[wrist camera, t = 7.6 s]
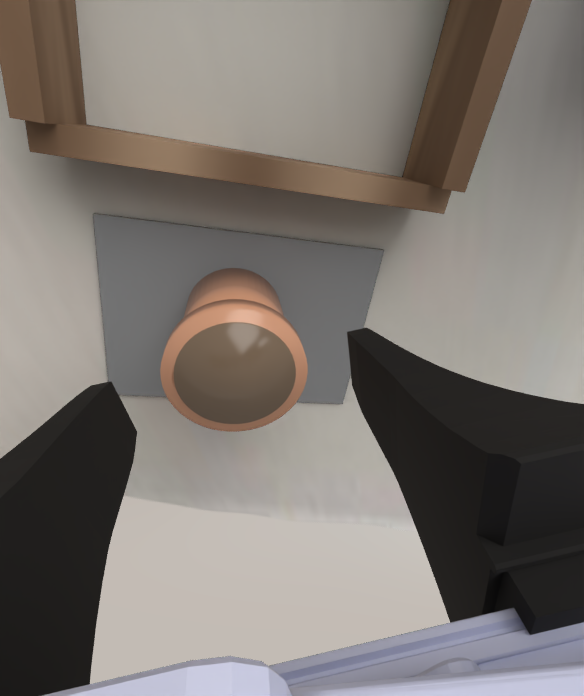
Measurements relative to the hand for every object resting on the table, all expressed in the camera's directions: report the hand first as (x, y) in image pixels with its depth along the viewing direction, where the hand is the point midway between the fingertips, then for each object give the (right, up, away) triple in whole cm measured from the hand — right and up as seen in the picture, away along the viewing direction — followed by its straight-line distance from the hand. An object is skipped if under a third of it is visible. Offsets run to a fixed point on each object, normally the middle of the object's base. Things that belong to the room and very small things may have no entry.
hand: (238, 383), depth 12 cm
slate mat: (-1, +2, +9) cm, 10 cm away
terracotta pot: (-1, +3, +9) cm, 9 cm away
